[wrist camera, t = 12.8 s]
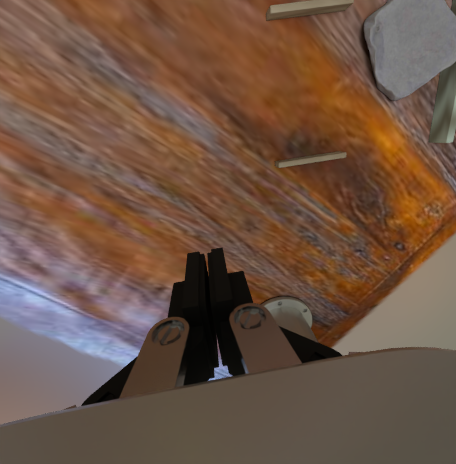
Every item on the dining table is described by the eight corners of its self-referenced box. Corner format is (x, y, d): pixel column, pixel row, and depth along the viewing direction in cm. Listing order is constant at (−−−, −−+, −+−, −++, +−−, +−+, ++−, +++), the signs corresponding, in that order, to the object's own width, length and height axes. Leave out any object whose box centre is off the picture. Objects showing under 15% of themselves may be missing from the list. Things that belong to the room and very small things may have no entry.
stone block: (380, 109, 38) (450, 55, 34) (397, 110, 33) (479, 49, 30) (340, 38, 34) (413, -31, 30) (353, 29, 30) (440, -52, 26)
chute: (434, 141, 38) (452, 142, 36) (275, 166, 37) (281, 168, 34) (461, -12, 31) (487, -26, 28) (266, 13, 30) (272, 1, 27)
